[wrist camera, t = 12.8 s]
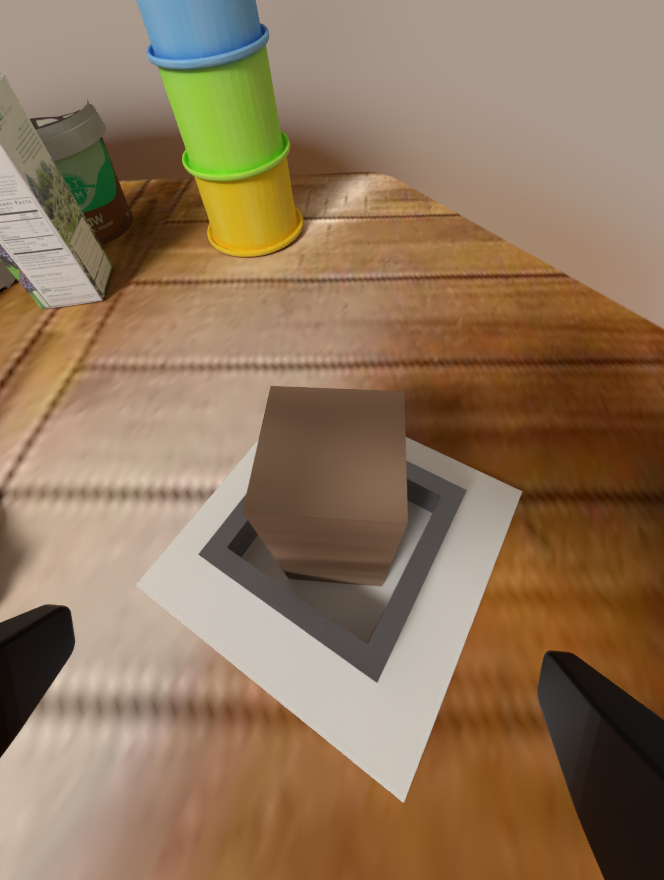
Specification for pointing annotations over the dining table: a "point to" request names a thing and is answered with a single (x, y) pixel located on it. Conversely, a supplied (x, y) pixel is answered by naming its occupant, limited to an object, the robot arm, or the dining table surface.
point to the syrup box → (43, 219)
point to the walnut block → (331, 483)
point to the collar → (364, 657)
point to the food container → (87, 169)
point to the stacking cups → (226, 119)
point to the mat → (347, 620)
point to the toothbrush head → (5, 276)
